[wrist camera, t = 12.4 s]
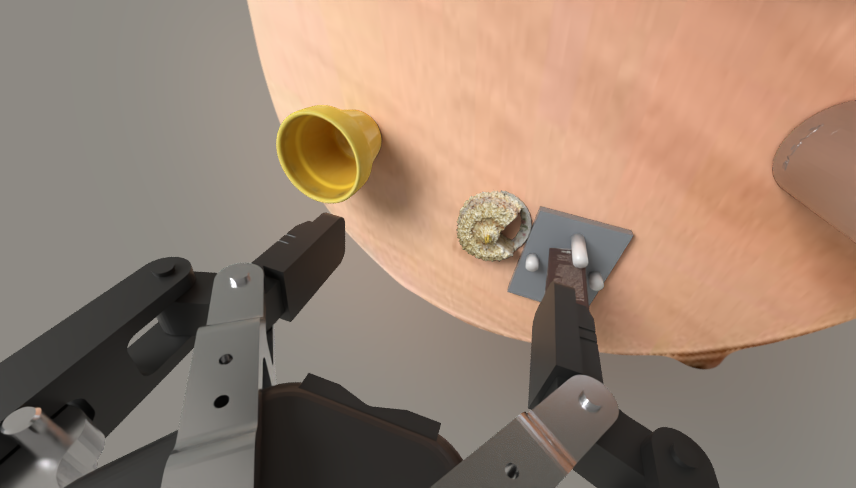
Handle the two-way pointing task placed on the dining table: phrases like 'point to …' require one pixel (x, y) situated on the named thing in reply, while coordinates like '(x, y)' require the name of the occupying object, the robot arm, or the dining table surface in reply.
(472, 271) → the dining table surface
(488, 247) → the sea snail shell
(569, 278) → the box
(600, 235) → the pin tray
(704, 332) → the dining table surface
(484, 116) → the dining table surface
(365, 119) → the plant pot
